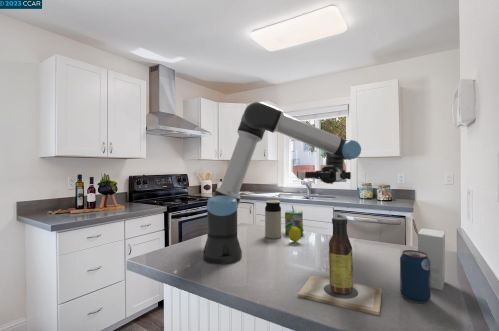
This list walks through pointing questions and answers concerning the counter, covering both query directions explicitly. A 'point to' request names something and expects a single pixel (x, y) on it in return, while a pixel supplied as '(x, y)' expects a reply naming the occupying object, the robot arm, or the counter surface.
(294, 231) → the lemon
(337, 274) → the sauce bottle
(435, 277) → the skincare box
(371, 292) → the wooden picture frame
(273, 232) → the travel mug
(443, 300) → the counter surface
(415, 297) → the soda can
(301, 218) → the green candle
